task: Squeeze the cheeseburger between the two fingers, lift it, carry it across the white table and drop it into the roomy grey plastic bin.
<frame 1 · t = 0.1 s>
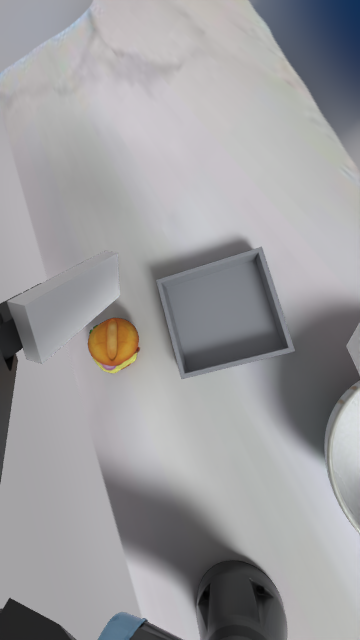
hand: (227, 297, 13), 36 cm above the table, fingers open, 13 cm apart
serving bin: (221, 316, 49), on the table
cheeseburger: (120, 344, 52), on the table
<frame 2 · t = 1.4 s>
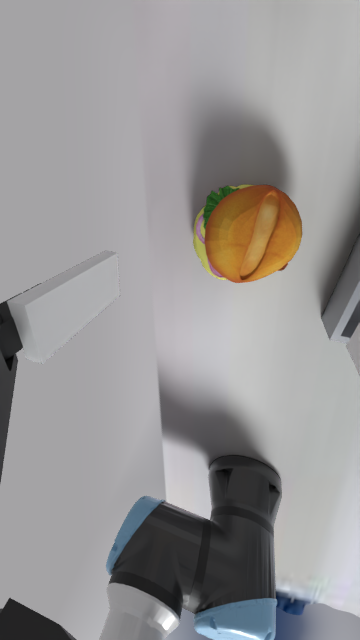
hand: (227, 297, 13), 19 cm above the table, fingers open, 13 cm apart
cheeseburger: (242, 228, 29), on the table
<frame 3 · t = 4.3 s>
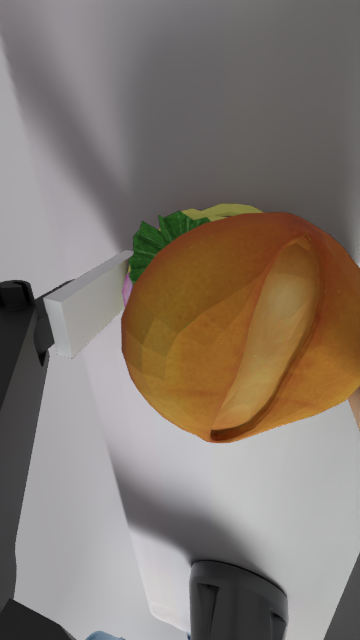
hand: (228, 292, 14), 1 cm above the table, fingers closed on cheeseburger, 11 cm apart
cheeseburger: (226, 284, 15), on the table, touching gripper
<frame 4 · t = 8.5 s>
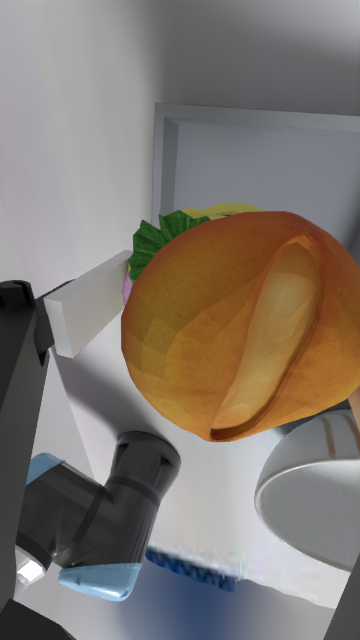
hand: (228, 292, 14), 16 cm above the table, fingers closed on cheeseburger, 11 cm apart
decorative bowl: (348, 435, 38), on the table
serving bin: (254, 233, 27), on the table
cheeseburger: (226, 284, 15), point 15 cm above the table, touching gripper
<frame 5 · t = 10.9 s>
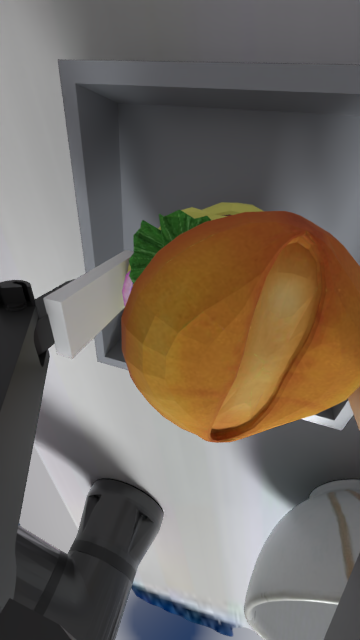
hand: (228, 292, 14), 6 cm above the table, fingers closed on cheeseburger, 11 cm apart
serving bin: (237, 260, 19), on the table
cheeseburger: (226, 284, 15), point 5 cm above the table, touching gripper
when the fingers open (3 cm above the table, at t = 12.8 s): cheeseburger drops 1 cm, resting on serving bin.
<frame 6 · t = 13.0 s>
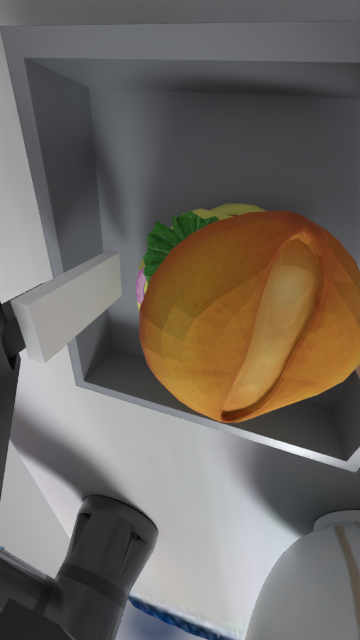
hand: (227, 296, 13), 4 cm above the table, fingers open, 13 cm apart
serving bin: (234, 273, 16), on the table
cheeseburger: (231, 279, 16), point 1 cm above the table, touching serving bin
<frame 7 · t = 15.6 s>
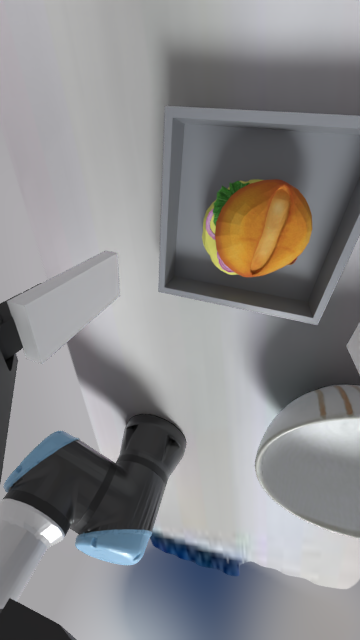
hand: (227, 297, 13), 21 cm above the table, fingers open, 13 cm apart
decorative bowl: (342, 410, 41), on the table
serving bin: (252, 220, 30), on the table
cheeseburger: (250, 223, 29), point 1 cm above the table, touching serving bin
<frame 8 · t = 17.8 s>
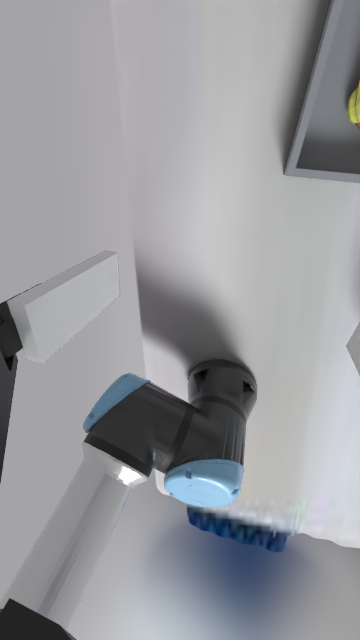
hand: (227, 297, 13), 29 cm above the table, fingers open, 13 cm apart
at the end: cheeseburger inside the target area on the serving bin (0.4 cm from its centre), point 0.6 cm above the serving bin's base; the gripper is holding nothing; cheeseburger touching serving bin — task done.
